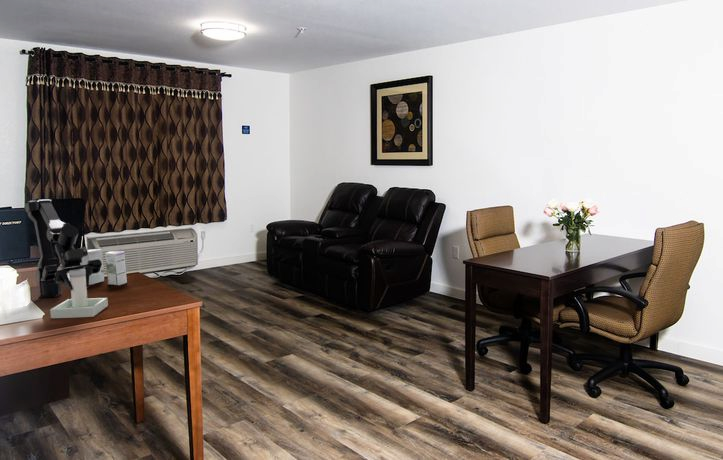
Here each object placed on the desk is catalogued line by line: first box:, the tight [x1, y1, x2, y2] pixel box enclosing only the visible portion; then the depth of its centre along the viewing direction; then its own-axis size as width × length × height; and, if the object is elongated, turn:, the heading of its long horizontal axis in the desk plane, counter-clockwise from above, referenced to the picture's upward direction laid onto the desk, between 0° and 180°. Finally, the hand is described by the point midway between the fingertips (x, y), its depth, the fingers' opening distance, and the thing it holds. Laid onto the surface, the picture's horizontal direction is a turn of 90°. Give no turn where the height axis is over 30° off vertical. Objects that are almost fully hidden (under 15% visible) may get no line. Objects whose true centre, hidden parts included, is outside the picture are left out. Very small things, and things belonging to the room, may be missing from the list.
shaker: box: [68, 269, 88, 307], centre depth 188 cm, size 5×5×13 cm
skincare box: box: [80, 248, 105, 286], centre depth 234 cm, size 8×6×15 cm
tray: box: [49, 297, 109, 319], centre depth 189 cm, size 14×14×3 cm
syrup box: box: [105, 250, 128, 286], centre depth 231 cm, size 6×6×14 cm
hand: (79, 288), depth 187 cm, fingers closed on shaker, 5 cm apart
